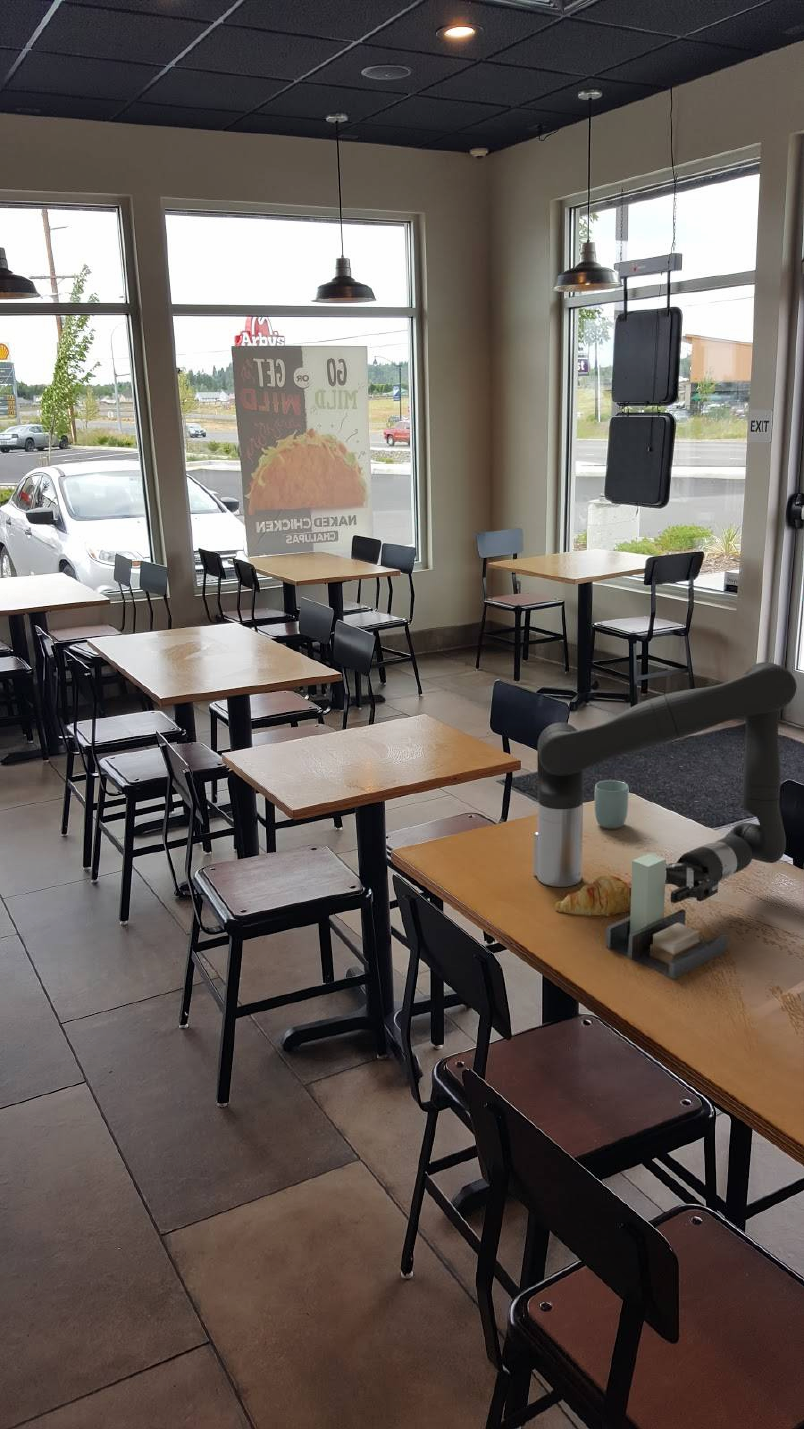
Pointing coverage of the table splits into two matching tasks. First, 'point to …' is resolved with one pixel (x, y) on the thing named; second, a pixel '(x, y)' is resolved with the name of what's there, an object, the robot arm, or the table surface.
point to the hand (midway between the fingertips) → (653, 890)
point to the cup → (611, 803)
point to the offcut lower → (668, 956)
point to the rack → (640, 942)
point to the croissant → (599, 898)
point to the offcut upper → (676, 938)
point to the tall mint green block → (647, 891)
